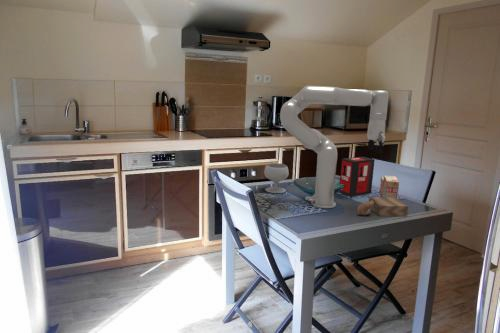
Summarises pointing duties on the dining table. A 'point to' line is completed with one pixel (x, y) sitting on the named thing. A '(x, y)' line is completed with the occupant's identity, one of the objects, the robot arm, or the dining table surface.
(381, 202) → the walnut base block
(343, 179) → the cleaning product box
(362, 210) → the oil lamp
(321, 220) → the dining table surface
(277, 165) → the chalice
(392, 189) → the stack of blocks
